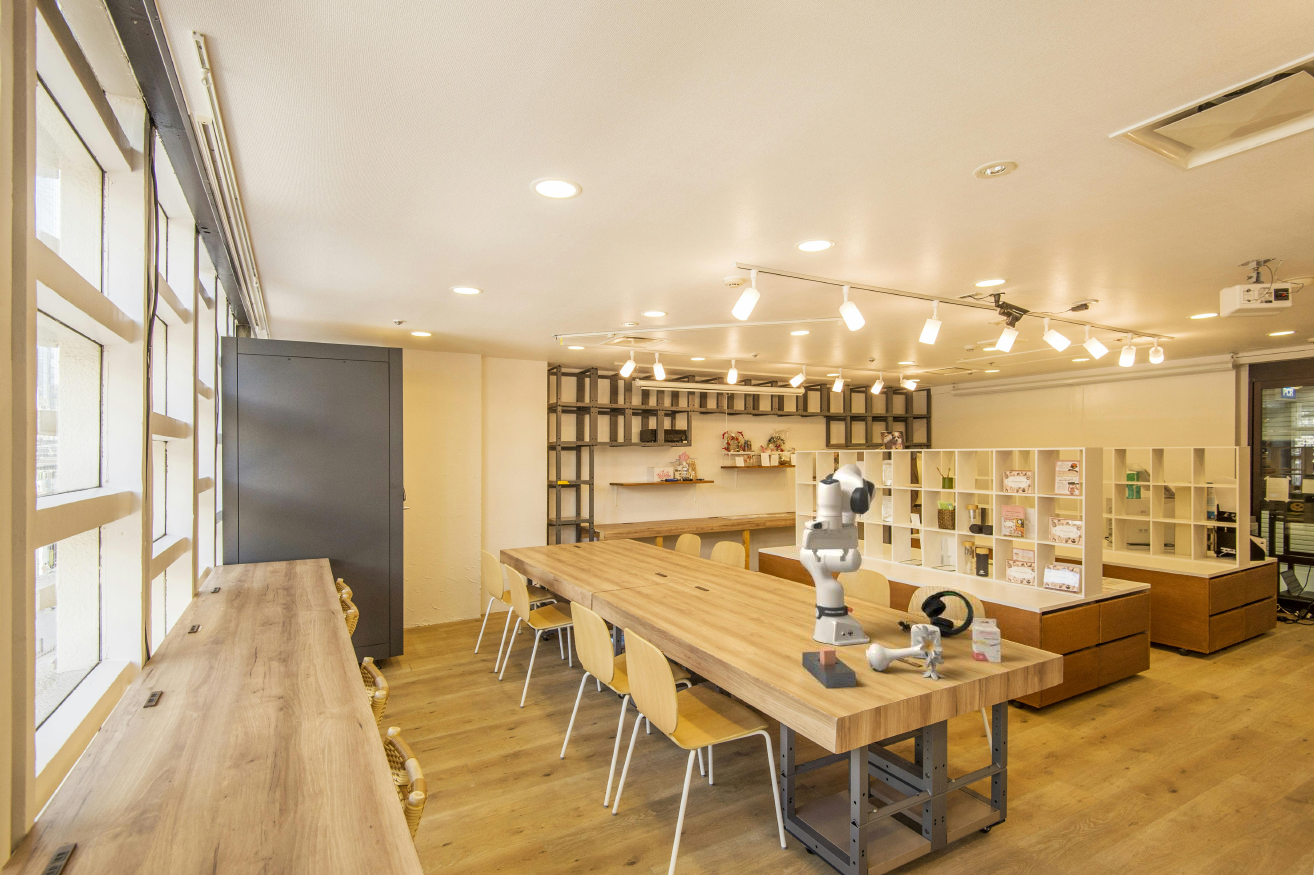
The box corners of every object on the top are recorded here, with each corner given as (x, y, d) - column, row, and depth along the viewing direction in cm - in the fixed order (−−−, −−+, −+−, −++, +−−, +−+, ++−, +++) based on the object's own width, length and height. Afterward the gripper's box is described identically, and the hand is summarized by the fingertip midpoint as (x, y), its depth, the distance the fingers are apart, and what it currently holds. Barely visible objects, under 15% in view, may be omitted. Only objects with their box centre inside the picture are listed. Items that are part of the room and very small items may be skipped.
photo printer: (940, 657, 231) (939, 624, 232) (941, 660, 227) (941, 627, 228) (910, 654, 234) (910, 621, 235) (911, 658, 230) (911, 624, 231)
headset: (917, 651, 266) (983, 628, 252) (903, 643, 258) (971, 619, 244) (903, 612, 278) (965, 588, 264) (889, 603, 270) (953, 578, 256)
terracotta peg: (831, 670, 214) (830, 646, 214) (835, 674, 210) (835, 650, 210) (820, 670, 213) (819, 647, 214) (824, 674, 210) (824, 650, 210)
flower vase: (876, 693, 213) (953, 683, 205) (861, 644, 212) (938, 631, 204) (875, 674, 225) (947, 664, 217) (860, 627, 224) (932, 615, 216)
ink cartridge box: (975, 661, 227) (974, 620, 227) (972, 656, 232) (971, 617, 232) (1001, 662, 225) (1000, 622, 225) (997, 658, 230) (996, 618, 230)
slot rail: (829, 664, 223) (828, 651, 223) (855, 686, 201) (855, 672, 202) (802, 665, 222) (802, 652, 222) (826, 688, 200) (826, 673, 200)
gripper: (853, 522, 229) (854, 559, 229) (800, 523, 227) (800, 560, 227) (860, 523, 223) (861, 562, 223) (806, 524, 221) (806, 563, 220)
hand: (830, 561), depth 225 cm, fingers open, 8 cm apart
